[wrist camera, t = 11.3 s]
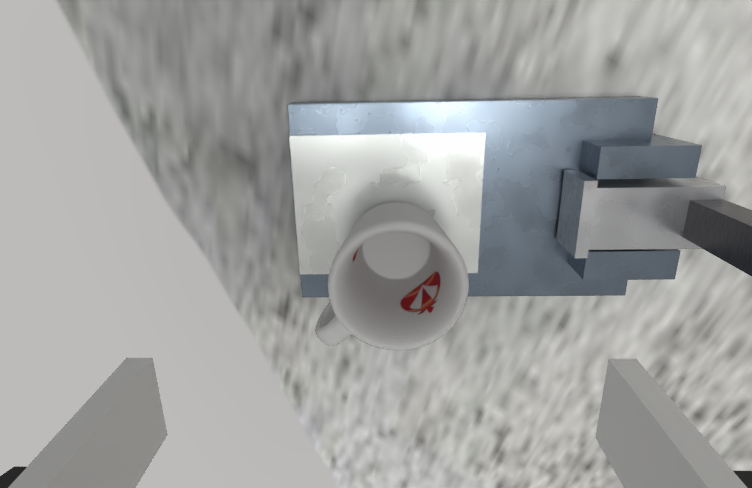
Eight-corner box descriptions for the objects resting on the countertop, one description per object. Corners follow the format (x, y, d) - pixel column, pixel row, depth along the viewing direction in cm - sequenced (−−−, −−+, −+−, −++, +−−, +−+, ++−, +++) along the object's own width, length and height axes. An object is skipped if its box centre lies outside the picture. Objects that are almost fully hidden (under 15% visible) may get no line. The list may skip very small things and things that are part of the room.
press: (294, 102, 34) (278, 107, 29) (661, 95, 34) (711, 100, 28) (307, 283, 39) (295, 316, 34) (629, 281, 38) (667, 314, 33)
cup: (366, 335, 37) (360, 402, 30) (290, 265, 36) (264, 317, 28) (475, 245, 35) (499, 294, 27) (399, 164, 33) (402, 192, 25)
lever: (564, 169, 33) (762, 280, 15) (703, 167, 32) (1065, 278, 15) (556, 239, 34) (727, 411, 17) (688, 238, 34) (999, 411, 17)
